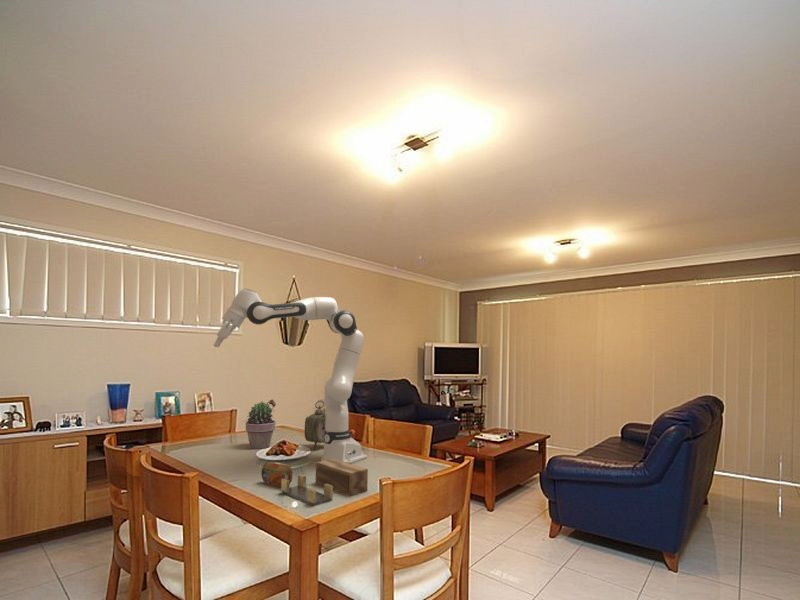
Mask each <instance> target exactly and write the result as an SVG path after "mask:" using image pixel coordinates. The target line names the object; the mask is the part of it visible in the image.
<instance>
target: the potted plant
mask: <svg viewBox="0 0 800 600" xmlns="http://www.w3.org/2000/svg"><path fill="white" fill-rule="evenodd" d="M270 405H271V406H272V408H271V407H270ZM276 405H277V403H276V402H275V400H274V399H270V400H269V401H267V402H263V400H262V401H261V402H259V403H254V406H251V409H250V411H249V412H248V415H247V416H246V418H247V419H246V420H244V421H243V420H242V421H241V422H243V423H244V422H245V431H246V432H247V438H248V442H249V447H250V449H252V450H262V449H268V448H269V447H270V444H271V440H272V438H273V434H274V431H275V429H276V423H277V422H276V420H274V419H273V417H274V415H273V414H272V413H273V412H275V411H276V409H275V410H274V408H275V407H276ZM245 411H248V410H245Z"/></svg>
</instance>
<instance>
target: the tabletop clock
mask: <svg viewBox="0 0 800 600" xmlns="http://www.w3.org/2000/svg"><path fill="white" fill-rule="evenodd" d="M321 402H322V405H318V406H317V404H318V403H321ZM323 407H325V401H323V400H318V401H316V403H315V408H316V410H315V411H314V413H313V414H310V415H308V416H306V418H305V420H304V439H305V440H306V441H307V442H311V443H314V445H313V447H314V448H313V450H314V451H317V450H318V445H317V444H322V443H324V444H325V441H324V431H325V420H326V413H325V411H324V409H322V408H323Z"/></svg>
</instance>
